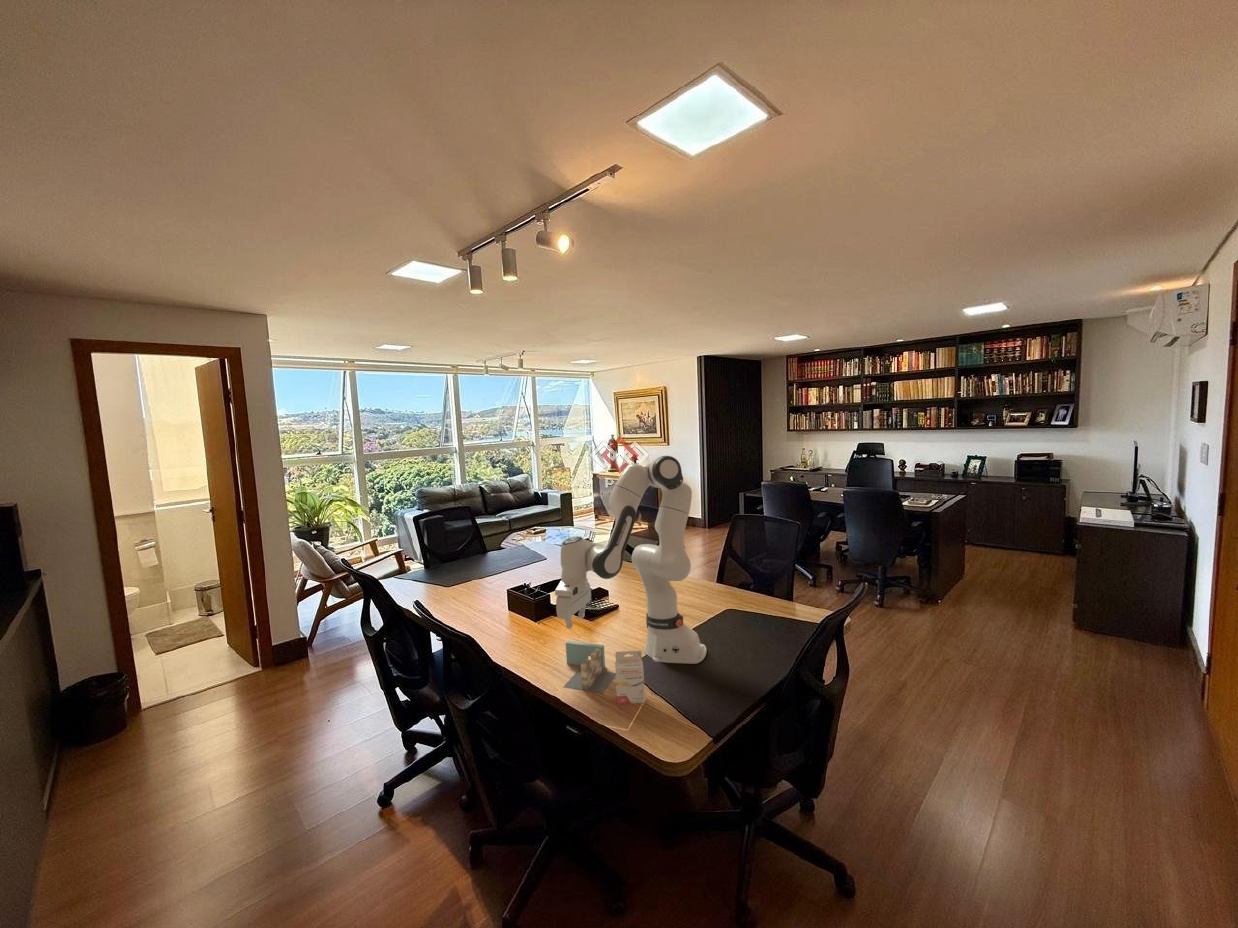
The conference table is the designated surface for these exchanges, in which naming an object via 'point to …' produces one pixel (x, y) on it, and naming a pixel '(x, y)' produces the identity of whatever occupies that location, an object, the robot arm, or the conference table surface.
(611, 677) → the felt mat
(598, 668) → the stone wall model
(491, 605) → the conference table surface
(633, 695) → the ink cartridge box
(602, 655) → the teal plate
